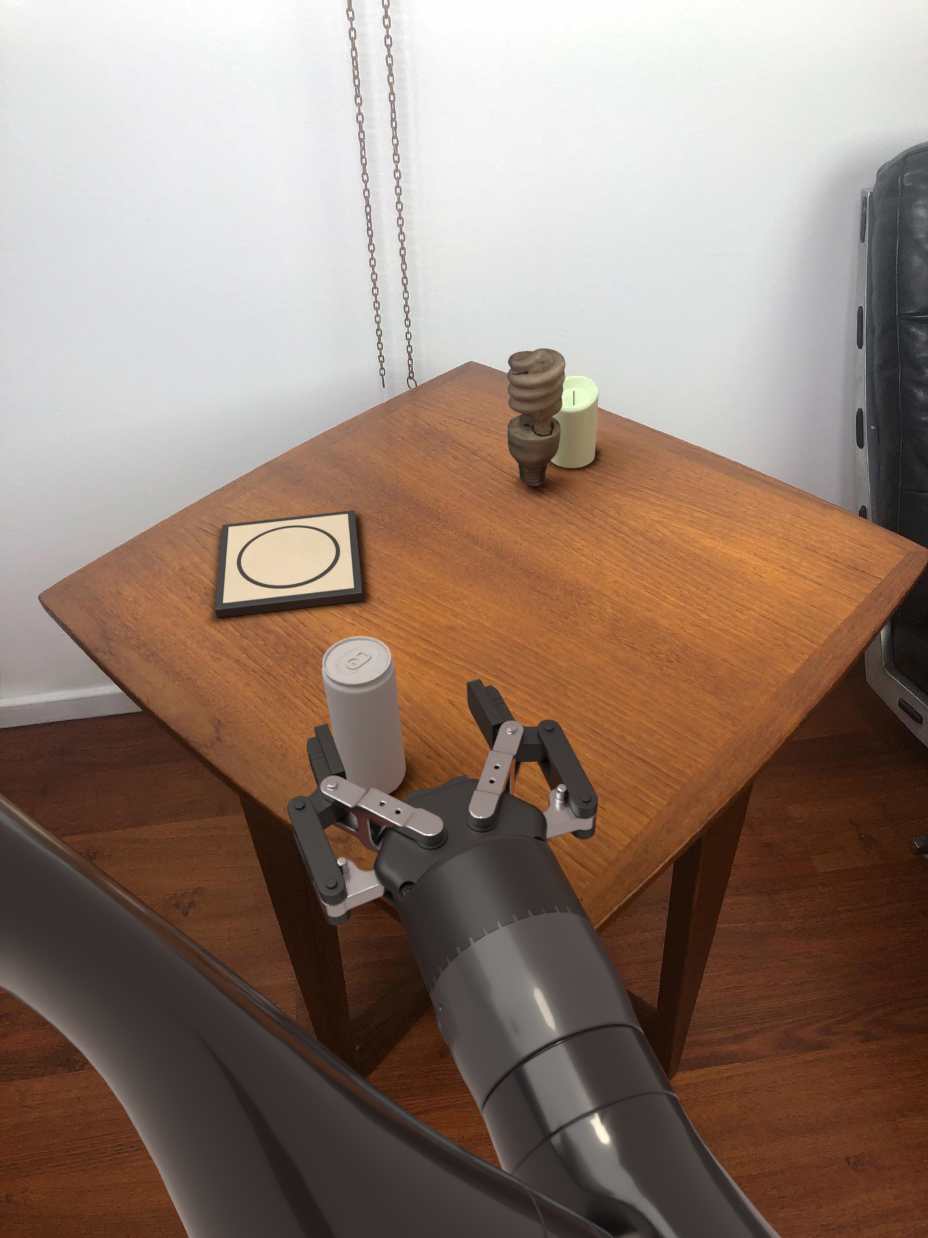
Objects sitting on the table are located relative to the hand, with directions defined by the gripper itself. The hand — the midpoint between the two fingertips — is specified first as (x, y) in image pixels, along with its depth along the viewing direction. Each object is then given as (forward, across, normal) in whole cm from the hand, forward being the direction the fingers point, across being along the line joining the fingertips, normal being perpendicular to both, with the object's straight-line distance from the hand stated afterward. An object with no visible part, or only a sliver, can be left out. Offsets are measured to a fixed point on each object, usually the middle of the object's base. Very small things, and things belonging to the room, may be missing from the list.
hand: (398, 712), depth 52 cm
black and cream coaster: (+38, 0, +18) cm, 42 cm away
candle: (+44, -33, +18) cm, 58 cm away
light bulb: (+41, -27, +18) cm, 52 cm away
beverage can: (+11, 0, +18) cm, 21 cm away
